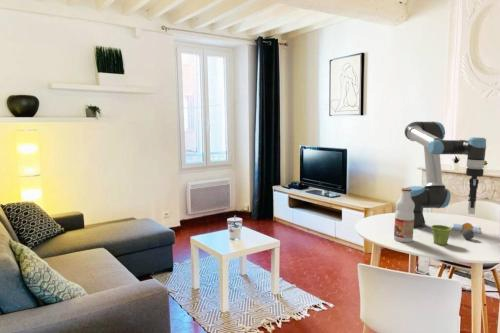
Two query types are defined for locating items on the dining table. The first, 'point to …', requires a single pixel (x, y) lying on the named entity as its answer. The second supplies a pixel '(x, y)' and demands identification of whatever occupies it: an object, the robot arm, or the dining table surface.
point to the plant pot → (440, 234)
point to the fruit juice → (404, 217)
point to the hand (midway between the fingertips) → (471, 212)
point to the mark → (459, 227)
